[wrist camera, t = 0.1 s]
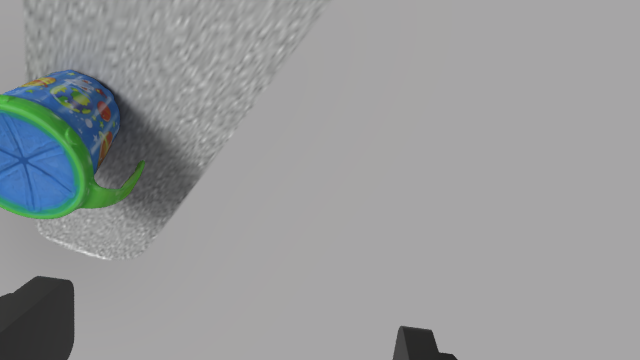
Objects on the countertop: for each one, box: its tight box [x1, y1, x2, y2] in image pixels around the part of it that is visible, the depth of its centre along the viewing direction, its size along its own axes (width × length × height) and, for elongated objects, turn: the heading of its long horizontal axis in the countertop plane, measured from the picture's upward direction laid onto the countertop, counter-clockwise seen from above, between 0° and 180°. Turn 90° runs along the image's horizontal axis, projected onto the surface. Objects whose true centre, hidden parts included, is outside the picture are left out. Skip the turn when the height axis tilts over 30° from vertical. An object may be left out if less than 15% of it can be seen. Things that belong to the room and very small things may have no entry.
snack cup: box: [0, 70, 145, 219], centre depth 41 cm, size 16×10×10 cm
